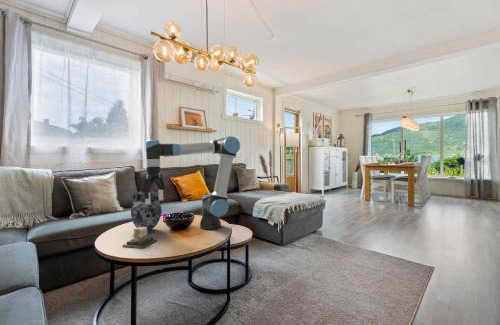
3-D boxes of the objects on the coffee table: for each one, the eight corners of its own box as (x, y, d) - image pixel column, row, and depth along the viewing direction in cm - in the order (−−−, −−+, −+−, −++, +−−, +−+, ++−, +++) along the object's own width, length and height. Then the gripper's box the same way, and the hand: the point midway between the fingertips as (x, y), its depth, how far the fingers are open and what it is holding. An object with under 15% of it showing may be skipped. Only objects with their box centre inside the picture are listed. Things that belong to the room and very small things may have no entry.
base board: (157, 240, 143) (157, 236, 143) (143, 248, 130) (143, 243, 130) (137, 239, 145) (137, 235, 145) (122, 247, 132) (122, 242, 132)
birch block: (147, 240, 140) (147, 227, 140) (141, 243, 135) (141, 229, 135) (139, 240, 141) (139, 226, 141) (133, 243, 136) (133, 229, 136)
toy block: (163, 224, 182) (163, 214, 183) (162, 222, 188) (162, 213, 188) (183, 222, 188) (183, 213, 188) (182, 221, 194) (182, 211, 194)
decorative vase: (167, 229, 168) (167, 189, 168) (154, 237, 150) (154, 192, 150) (138, 228, 170) (139, 189, 170) (122, 236, 152) (122, 192, 152)
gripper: (159, 165, 155) (160, 198, 155) (134, 167, 130) (135, 206, 130) (169, 165, 153) (171, 198, 154) (146, 166, 129) (148, 206, 129)
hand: (154, 202), depth 142 cm, fingers open, 13 cm apart
